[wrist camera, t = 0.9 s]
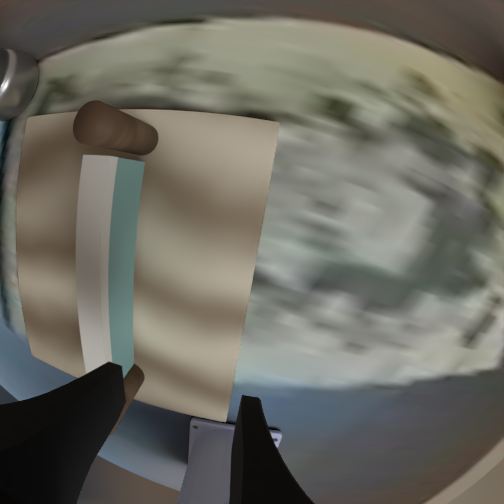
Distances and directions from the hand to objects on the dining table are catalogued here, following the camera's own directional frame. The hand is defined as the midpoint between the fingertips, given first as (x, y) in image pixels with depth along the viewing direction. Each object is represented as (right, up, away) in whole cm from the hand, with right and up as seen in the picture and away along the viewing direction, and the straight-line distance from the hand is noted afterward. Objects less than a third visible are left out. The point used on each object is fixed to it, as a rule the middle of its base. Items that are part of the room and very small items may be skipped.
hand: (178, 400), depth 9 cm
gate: (-5, +4, +7) cm, 10 cm away
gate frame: (-7, +4, +9) cm, 12 cm away
